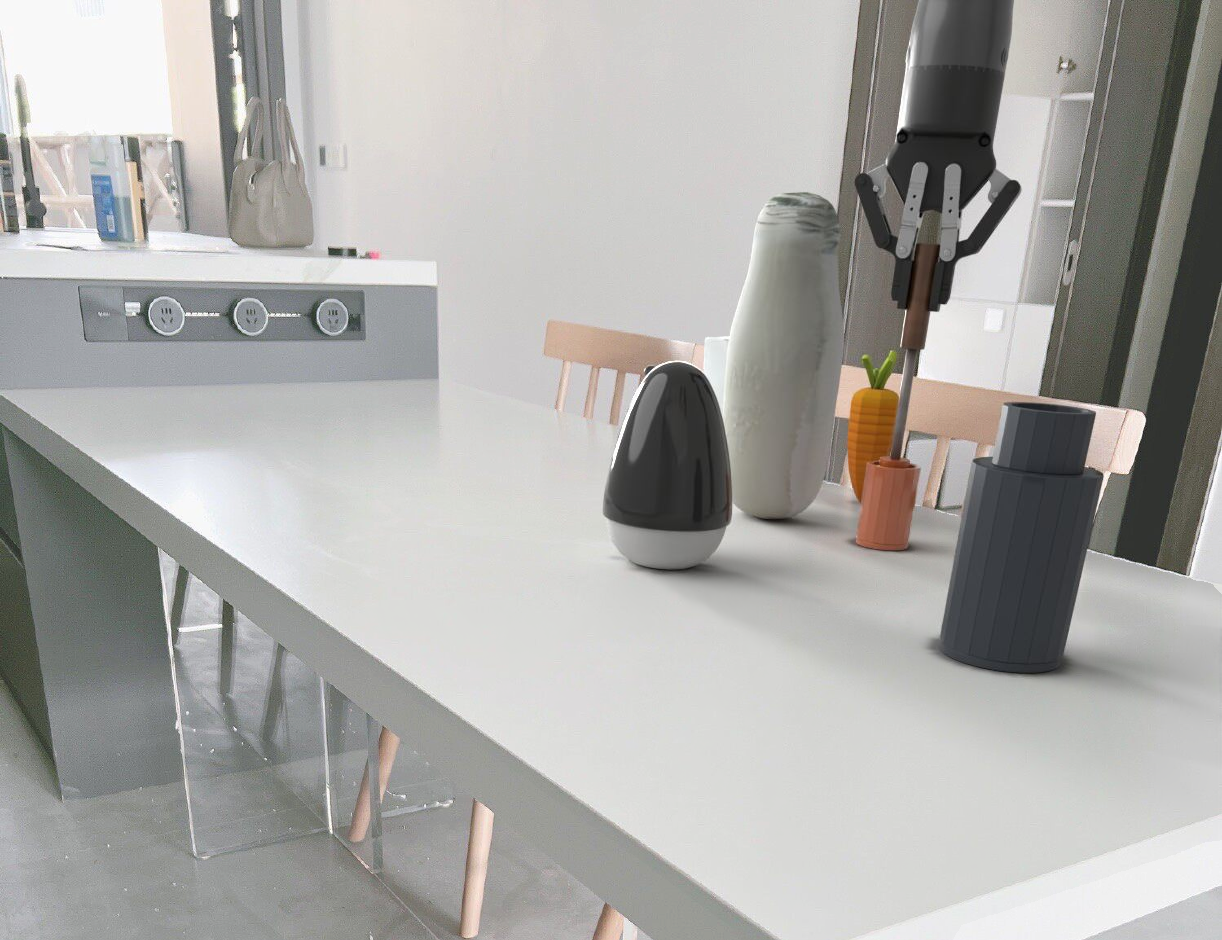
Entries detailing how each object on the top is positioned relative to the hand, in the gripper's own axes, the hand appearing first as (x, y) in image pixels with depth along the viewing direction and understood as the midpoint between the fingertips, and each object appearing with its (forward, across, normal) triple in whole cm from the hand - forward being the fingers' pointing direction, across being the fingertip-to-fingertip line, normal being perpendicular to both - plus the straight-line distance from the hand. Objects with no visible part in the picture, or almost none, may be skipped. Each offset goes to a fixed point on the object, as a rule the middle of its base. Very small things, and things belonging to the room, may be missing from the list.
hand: (918, 309), depth 101 cm
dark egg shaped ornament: (+20, +15, +18) cm, 31 cm away
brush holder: (+20, 0, 0) cm, 20 cm away
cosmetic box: (+20, +20, -26) cm, 38 cm away
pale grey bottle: (+20, +12, -6) cm, 24 cm away
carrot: (+20, +5, -20) cm, 29 cm away
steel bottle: (+20, -12, +30) cm, 38 cm away
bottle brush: (+19, 0, 0) cm, 19 cm away
